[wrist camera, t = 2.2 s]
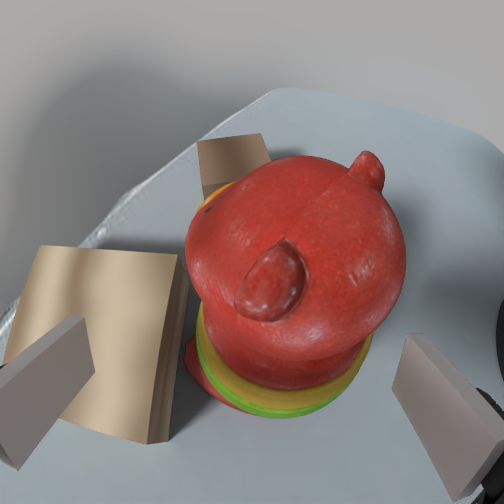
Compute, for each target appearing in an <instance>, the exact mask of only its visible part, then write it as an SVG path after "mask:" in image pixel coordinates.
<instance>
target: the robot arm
mask: <svg viewBox="0 0 504 504" xmlns="http://www.w3.org/2000/svg"><path fill="white" fill-rule="evenodd" d="M497 353H498V360H499V365H500V370H501V373H502V377H503V380H504V301H503V303H502V306H501V309H500V312H499V316H498V322H497ZM94 373H95V367H94V363H93V359H92V354H91V349H90V344H89V339H88V334H87V328H86V322H85V317H81V316H75V315H69V316H68V317H67V318H65V319H64V320H63V321H61V322H60V323H59V324H57V325H56V326H55V327H53V328H52V329H51V330H50V331H48V332H47V333H46V334H44V335H43V336H42V337H40V338H39V339H38V340H37V341H35V342H34V343H33V344H31V345H30V346H29V347H28V348H26V349H25V350H24V351H23V352H21V353H20V354H19V355H18V356H16V357H15V358H14V359H13V360H11V361H10V362H9V363H7V364H4V365H2V366H0V458H1V460H2V461H3V462H4V463H5V464H7V465H9V466H10V467H12V468H14V469H16V470H17V471H19V469H20V468H21V467H22V465H23V464H24V463H25V461H26V460H27V459H28V457H29V456H30V454H31V453H32V452H33V450H34V449H35V448H36V447H37V445H38V444H39V443H40V441H41V440H42V439H43V437H44V436H45V435H46V433H47V432H48V431H49V429H50V428H51V427H52V426H53V424H54V423H55V422H56V420H57V419H58V418H59V417H60V415H61V414H62V413H63V412H64V410H65V409H66V408H67V407H68V405H69V404H70V403H71V402H72V400H73V399H74V398H75V397H76V395H77V394H78V393H79V392H80V390H81V389H82V388H83V387H84V385H85V384H86V383H87V382H88V381H89V379H90V378H91V377H92V376H93V374H94ZM392 391H393V392H394V394H395V396H396V397H397V399H398V401H399V403H400V404H401V406H402V408H403V410H404V411H405V413H406V415H407V417H408V418H409V420H410V422H411V424H412V426H413V427H414V429H415V431H416V433H417V435H418V436H419V438H420V440H421V442H422V444H423V445H424V447H425V449H426V451H427V453H428V455H429V457H430V458H431V460H432V462H433V464H434V466H435V468H436V470H437V472H438V474H439V476H440V478H441V480H442V481H443V483H444V485H445V487H446V489H447V491H448V493H449V495H450V497H451V499H452V501H453V502H454V501H457V500H459V499H462V498H464V497H467V496H469V495H471V494H472V493H473V492H474V491H475V489H476V488H477V487H478V486H479V484H480V483H481V484H482V486H483V488H484V489H483V491H482V492H481V493H480V494H479V495H478V496H477V497H476V499H475V500H474V501H473V502H472V503H471V504H476V503H477V504H504V411H502V409H501V407H500V406H499V405H498V404H496V402H495V401H494V400H493V399H492V398H491V396H490V395H489V394H487V393H486V392H484V391H482V390H481V389H479V388H475V387H474V386H473V385H472V384H471V383H470V382H469V381H468V380H467V379H466V378H465V377H464V376H463V375H462V373H461V372H460V371H459V370H458V369H457V368H456V367H455V366H454V365H453V364H452V363H451V362H450V361H449V360H448V359H447V358H446V357H445V356H444V355H443V353H442V352H441V351H440V350H439V349H438V348H437V347H436V346H435V345H434V344H433V343H432V342H431V341H430V340H429V339H428V338H427V337H426V336H425V335H424V334H423V333H415V334H407V336H406V340H405V344H404V348H403V352H402V355H401V359H400V362H399V366H398V369H397V373H396V376H395V379H394V382H393V386H392Z"/></svg>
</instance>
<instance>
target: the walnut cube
mask: <svg viewBox="0 0 504 504" xmlns="http://www.w3.org/2000/svg"><path fill="white" fill-rule="evenodd" d="M197 148H198V157H199V165H200V174H201V182H202V189H203V195H204V201H205V200H206V199H207V198H208V197H209V196H210V195H211V194H212V193H213V192H215V191H216V190H218V189H219V188H221V187H223V186H225V185H227V184H229V183H232V182H234V181H237V180H239V179H241V178H243V177H246V176H247V175H248V174H250V173H251V172H252V171H254V170H255V169H257V168H258V167H260V166H262V165H264V164H266V163H268V162H271V159H270V157H269V154H268V151H267V149H266V146H265V143H264V141H263V138H262V135H261V133H259V134H249V135H241V136H232V137H225V138H217V139H210V140H203V141H197Z"/></svg>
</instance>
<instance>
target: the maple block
mask: <svg viewBox="0 0 504 504" xmlns="http://www.w3.org/2000/svg"><path fill="white" fill-rule="evenodd" d="M189 288H190V285H189V282H188V280H187V277H186V275H185V272H184V269H183V267H182V264H181V261H180V259H179V256H178V254H164V253H149V252H134V251H119V250H104V249H90V248H76V247H61V246H46V245H40V247H39V250H38V252H37V254H36V257H35V259H34V262H33V265H32V267H31V270H30V272H29V275H28V278H27V280H26V283H25V286H24V289H23V292H22V295H21V298H20V301H19V304H18V307H17V310H16V313H15V317H14V320H13V324H12V327H11V331H10V335H9V338H8V342H7V346H6V351H5V355H4V360H3V364H2V365H4V364H7V363H9V362H10V361H11V360H13V359H14V358H15V357H16V356H18V355H19V354H20V353H21V352H23V351H24V350H25V349H26V348H28V347H29V346H30V345H31V344H33V343H34V342H35V341H37V340H38V339H39V338H40V337H42V336H43V335H44V334H46V333H47V332H48V331H50V330H51V329H52V328H53V327H55V326H56V325H57V324H59V323H60V322H61V321H63V320H64V319H65V318H67V317H68V316H69V315H75V316H81V317H85V322H86V328H87V334H88V339H89V344H90V349H91V354H92V359H93V363H94V367H95V373H94V374H93V376H92V377H91V378H90V379H89V381H88V382H87V383H86V384H85V385H84V387H83V388H82V389H81V390H80V392H79V393H78V394H77V395H76V397H75V398H74V399H73V400H72V402H71V403H70V404H69V405H68V407H67V408H66V409H65V410H64V412H63V413H62V414H61V415H60V417H59V418H60V419H63V420H65V421H68V422H71V423H74V424H77V425H79V426H82V427H85V428H88V429H91V430H95V431H98V432H101V433H104V434H108V435H111V436H115V437H119V438H122V439H126V440H130V441H134V442H138V443H142V444H154V443H161V442H168V438H169V428H170V419H171V410H172V402H173V394H174V386H175V378H176V371H177V364H178V357H179V350H180V343H181V336H182V330H183V324H184V317H185V311H186V305H187V299H188V293H189Z"/></svg>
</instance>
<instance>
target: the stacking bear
mask: <svg viewBox="0 0 504 504" xmlns="http://www.w3.org/2000/svg"><path fill="white" fill-rule="evenodd" d="M384 182H385V171H384V168H383V165H382V164H381V162H380V161H379V159H378V158H377V157H376V156H375V155H374V154H373V153H371V152H370V151H363V152H361V154H360V155H359V156H358V157H357V158H356V160H355V161H354V162H353V164H352V165H351V167H350V168H349V169H348V168H346V167H344V166H343V165H341V164H338V163H335V162H333V161H330V160H327V159H324V158H320V157H313V156H291V157H284V158H279V159H276V160H273V161H271V162H268V163H266V164H264V165H262V166H260V167H258V168H257V169H255V170H254V171H252V172H251V173H250V174H248V175H247V176H246V177H243V178H241V179H239V180H237V181H234V182H232V183H229V184H227V185H225V186H223V187H221V188H219V189H218V190H216V191H215V192H213V193H212V194H211V195H210V196H209V197H208V198H207V199H206V200H205V201H204V202H203V203H202V204H201V205H200V207H199V208H198V210H197V212H196V213H195V216H194V218H193V220H192V222H191V224H190V226H189V230H188V233H187V236H186V243H185V258H186V265H187V269H188V272H189V275H190V278H191V281H192V283H193V286H194V288H195V290H196V292H197V293H198V295H199V297H200V298H201V304H200V309H199V312H198V317H197V324H196V334H195V335H194V336H193V338H192V339H191V340H189V341H188V342H187V343H186V345H185V350H186V353H185V355H184V364H185V366H186V368H187V370H188V371H189V373H190V374H191V375H192V377H193V378H194V379H195V380H196V381H197V383H198V384H199V385H200V386H201V387H202V388H203V389H205V390H206V391H207V392H208V393H209V394H210V395H212V396H213V397H215V398H216V399H218V400H219V401H221V402H222V403H224V404H226V405H228V406H230V407H232V408H234V409H236V410H239V411H242V412H245V413H248V414H252V415H257V416H261V417H266V418H293V417H299V416H303V415H306V414H309V413H312V412H315V411H317V410H319V409H321V408H323V407H324V406H326V405H327V404H329V403H330V402H332V401H333V400H334V399H336V398H337V397H338V396H339V395H340V394H341V393H342V392H343V391H344V390H345V389H346V388H347V387H348V386H349V384H350V383H351V382H352V380H353V379H354V377H355V376H356V374H357V373H358V371H359V369H360V367H361V365H362V363H363V362H364V360H365V357H366V355H367V353H368V350H369V347H370V344H371V340H372V336H373V332H374V331H375V330H376V329H377V328H378V326H379V325H380V324H381V323H382V322H383V321H384V319H385V318H386V317H387V316H388V315H389V313H390V312H391V310H392V308H393V307H394V305H395V303H396V301H397V299H398V297H399V295H400V292H401V289H402V285H403V281H404V277H405V270H406V250H405V244H404V239H403V235H402V231H401V229H400V226H399V223H398V221H397V218H396V216H395V214H394V212H393V210H392V209H391V207H390V206H389V204H388V202H387V201H386V200H385V198H384V197H383V196H382V189H383V187H384Z"/></svg>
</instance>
